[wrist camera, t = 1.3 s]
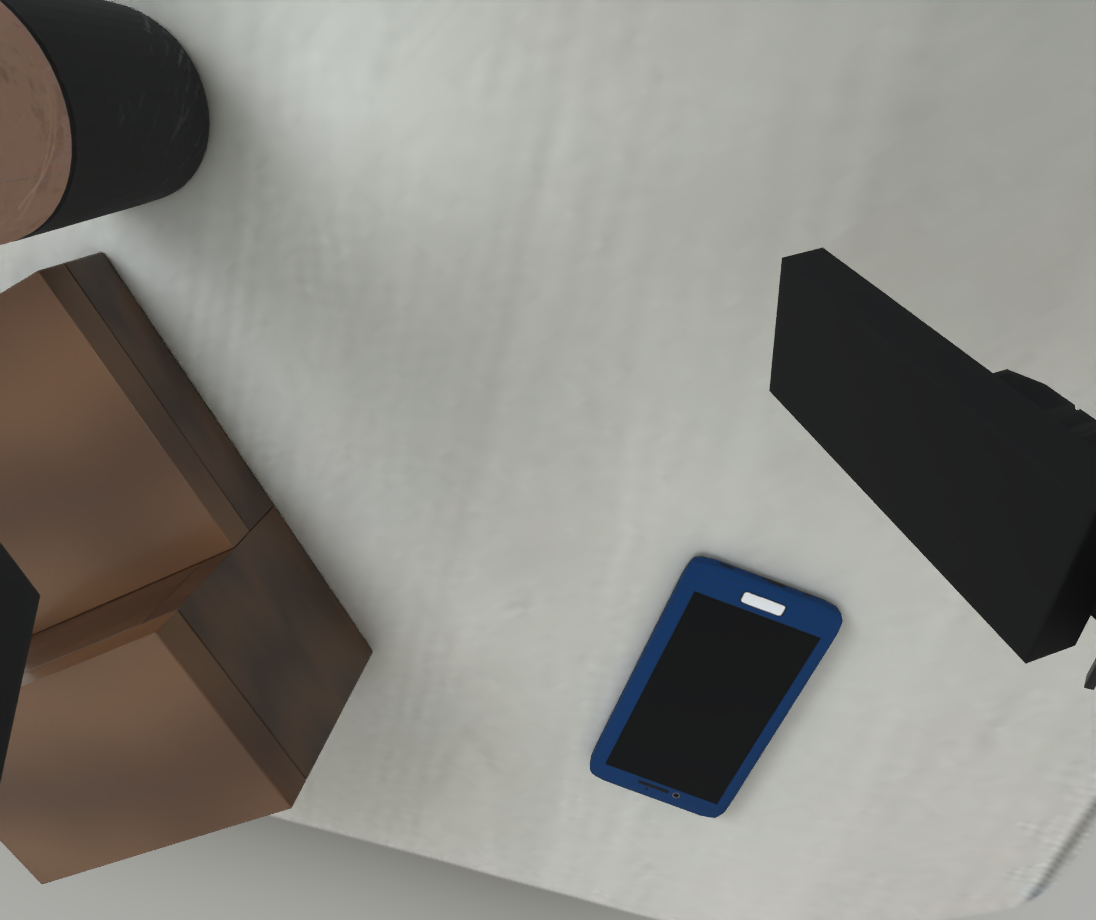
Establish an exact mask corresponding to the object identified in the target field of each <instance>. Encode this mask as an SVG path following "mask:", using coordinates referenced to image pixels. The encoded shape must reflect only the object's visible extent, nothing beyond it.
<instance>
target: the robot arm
mask: <svg viewBox="0 0 1096 920" xmlns="http://www.w3.org/2000/svg"><path fill="white" fill-rule="evenodd" d="M770 392H771V393H772V394H773V395H774V396H775V397H776V398H777V399H778V400H779V401H780V403H781V404H782V405H783V406H784V407H785V408H786V409H787V410H788V411H789V412H790V413H791V414H792V415H793V416H794V417H795V418H796V420H797V421H798V422H799V423H800V424H801V425H802V426H803V427H804V428H805V429H806V430H807V431H808V432H809V433H810V434H811V436H812V437H813V438H814V439H815V440H816V441H817V442H818V443H819V444H820V445H821V446H822V447H823V448H824V449H825V450H826V452H827V453H828V454H829V455H830V456H831V457H832V458H833V459H834V460H835V461H836V462H837V463H838V464H839V465H840V466H841V467H842V469H843V470H844V471H845V472H846V473H847V474H848V475H849V476H850V477H851V478H852V479H853V480H854V481H855V482H856V483H857V485H858V486H859V487H860V488H861V489H862V490H863V491H864V492H865V493H866V494H867V495H868V496H869V497H870V498H871V499H872V500H873V502H874V503H875V504H876V505H877V506H878V507H879V508H880V509H881V510H882V511H883V512H884V513H885V514H886V515H887V516H888V518H889V519H890V520H891V521H892V522H893V523H894V524H895V525H896V526H897V527H898V528H899V529H900V530H901V531H902V532H903V533H904V535H905V536H906V537H907V538H908V539H909V540H910V541H911V542H912V543H913V544H914V545H915V546H916V547H917V548H918V549H919V551H920V552H921V553H922V554H923V555H924V556H925V557H926V558H927V559H928V560H929V561H930V562H931V563H932V564H933V565H934V566H935V568H936V569H937V570H938V571H939V572H940V573H941V574H942V575H943V576H944V577H945V578H946V579H947V580H948V581H949V582H950V584H951V585H952V586H953V587H954V588H955V589H956V590H957V591H958V592H959V593H960V594H961V595H962V596H963V597H964V598H965V599H966V601H967V602H968V603H969V604H970V605H971V606H972V607H973V608H974V609H975V610H976V611H977V612H978V613H979V614H980V615H981V617H982V618H983V619H984V620H985V621H986V622H987V623H988V624H989V625H990V626H991V627H992V628H993V629H994V630H995V631H996V632H997V634H998V635H999V636H1000V637H1001V638H1002V639H1003V640H1004V641H1005V642H1006V643H1007V644H1008V645H1009V646H1010V647H1011V648H1012V650H1013V651H1014V652H1015V653H1016V654H1017V655H1018V656H1019V657H1020V658H1021V659H1022V660H1023V661H1024V662H1025V663H1028V662H1031V661H1034V660H1037V659H1039V658H1042V657H1045V656H1048V655H1050V654H1053V653H1056V652H1058V651H1061V650H1064V649H1067V648H1069V647H1072V646H1075V645H1076V643H1077V641H1078V639H1079V637H1080V635H1081V633H1082V631H1083V629H1084V627H1085V625H1086V623H1087V621H1088V619H1089V617H1090V615H1091V616H1093V617H1094V618H1095V619H1096V420H1095V419H1094V418H1092V417H1091V416H1089V415H1088V414H1087V413H1085V412H1084V411H1082V410H1081V409H1080V410H1076V409H1075V405H1074V404H1072V403H1071V402H1070V401H1068V400H1067V399H1065V398H1064V397H1062V396H1061V395H1060V394H1058V393H1057V392H1055V391H1054V390H1053V389H1051V388H1050V387H1048V386H1047V385H1045V384H1043V383H1041V382H1038V381H1036V380H1033V379H1031V378H1028V377H1025V376H1023V375H1020V374H1018V373H1015V372H1013V371H1010V370H1008V369H1006V370H1003V371H999V372H996V373H992V372H990V371H989V370H988V369H986V368H985V367H984V366H982V365H981V364H980V363H978V362H977V361H976V360H974V359H973V358H971V357H970V356H969V355H967V354H966V353H965V352H963V351H962V350H961V349H959V348H958V347H957V346H955V345H954V344H953V343H951V342H950V341H948V340H947V339H946V338H944V337H943V336H942V335H940V334H939V333H938V332H936V331H935V330H934V329H932V328H931V327H930V326H928V325H927V324H925V323H924V322H923V321H921V320H920V319H919V318H917V317H916V316H915V315H913V314H912V313H911V312H909V311H908V310H906V309H905V308H904V307H902V306H901V305H900V304H898V303H897V302H896V301H894V300H893V299H892V298H890V297H889V296H888V295H886V294H885V293H883V292H882V291H881V290H879V289H878V288H877V287H875V286H874V285H873V284H871V283H870V282H869V281H867V280H866V279H864V278H863V277H862V276H860V275H859V274H858V273H856V272H855V271H854V270H852V269H851V268H850V267H848V266H847V265H846V264H844V263H843V262H841V261H840V260H839V259H837V258H836V257H835V256H833V255H832V254H831V253H829V252H828V251H827V250H825V249H824V248H819V249H815V250H811V251H807V252H803V253H799V254H795V255H791V256H787V257H783V258H782V264H781V275H780V285H779V296H778V306H777V317H776V327H775V338H774V348H773V359H772V370H771V380H770ZM39 599H40V594H39V593H38V591H37V590H36V589H35V587H34V586H33V585H32V583H31V582H30V581H29V580H28V578H27V577H26V576H25V574H24V573H23V572H22V570H21V569H20V568H19V566H18V565H17V564H16V562H15V561H14V560H13V558H12V557H11V556H10V554H9V553H8V552H7V550H6V549H5V548H4V546H3V545H2V544H1V542H0V782H1V778H2V773H3V768H4V764H5V759H6V754H7V749H8V745H9V740H10V735H11V731H12V726H13V721H14V717H15V712H16V707H17V703H18V698H19V693H20V688H21V684H22V679H23V674H24V670H25V665H26V660H27V656H28V651H29V646H30V642H31V637H32V632H33V627H34V623H35V618H36V613H37V609H38V604H39ZM1095 687H1096V659H1095V661H1094V663H1093V664H1092V666H1091V668H1090V670H1089V672H1088V673H1087V676H1086V681H1085V685H1084V688H1088V689H1092V690H1094V688H1095Z"/></svg>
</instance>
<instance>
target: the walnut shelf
mask: <svg viewBox="0 0 1096 920" xmlns="http://www.w3.org/2000/svg"><path fill="white" fill-rule="evenodd" d="M0 542H1V544H2V545H3V546H4V548H5V549H6V550H7V552H8V553H9V554H10V556H11V557H12V558H13V560H14V561H15V562H16V564H17V565H18V566H19V568H20V569H21V570H22V572H23V573H24V574H25V576H26V577H27V578H28V580H29V581H30V582H31V583H32V585H33V586H34V587H35V589H36V590H37V591H38V593H39V594H40V599H39V604H38V609H37V613H36V618H35V623H34V627H33V632H32V637H31V642H30V646H29V651H28V656H27V660H26V665H25V670H24V674H23V679H22V684H21V688H20V693H19V698H18V703H17V707H16V712H15V717H14V721H13V726H12V731H11V735H10V740H9V745H8V749H7V754H6V759H5V764H4V768H3V773H2V778H1V782H0V841H1V842H2V843H3V844H4V845H5V846H6V847H7V848H8V849H9V850H10V851H11V852H12V853H13V855H14V856H15V857H16V858H17V859H18V860H19V861H20V862H21V863H22V864H23V865H24V866H25V867H26V868H27V869H28V870H29V871H30V873H31V874H32V875H33V876H34V877H35V878H36V879H37V880H38V881H39V882H40V883H41V884H45V883H48V882H51V881H54V880H58V879H61V878H64V877H68V876H71V875H74V874H77V873H80V872H84V871H87V870H90V869H94V868H97V867H100V866H104V865H107V864H110V863H113V862H117V861H120V860H123V859H126V858H129V857H133V856H136V855H139V854H143V853H146V852H149V851H152V850H156V849H159V848H162V847H166V846H169V845H172V844H175V843H179V842H182V841H185V840H188V839H192V838H195V837H198V836H201V835H205V834H208V833H211V832H215V831H218V830H221V829H224V828H228V827H231V826H234V825H238V824H241V823H244V822H247V821H250V820H253V819H257V818H260V817H264V816H267V815H270V814H274V813H277V812H280V811H283V810H287V809H290V808H292V806H293V804H294V802H295V800H296V799H297V797H298V795H299V793H300V791H301V789H302V787H303V785H304V783H305V781H306V779H307V777H308V776H309V774H310V772H311V770H312V768H313V766H314V764H315V762H316V760H317V758H318V756H319V754H320V752H321V750H322V749H323V747H324V745H325V743H326V741H327V739H328V737H329V735H330V733H331V731H332V729H333V727H334V725H335V724H336V722H337V720H338V718H339V716H340V714H341V712H342V710H343V708H344V706H345V704H346V702H347V700H348V698H349V697H350V695H351V693H352V691H353V689H354V687H355V685H356V683H357V681H358V679H359V677H360V675H361V673H362V672H363V670H364V668H365V666H366V664H367V662H368V660H369V658H370V656H371V654H372V650H371V649H370V647H369V646H368V644H367V643H366V641H365V640H364V638H363V637H362V635H361V634H360V632H359V631H358V629H357V628H356V626H355V625H354V623H353V622H352V620H351V619H350V618H349V616H348V615H347V613H346V612H345V610H344V609H343V607H342V606H341V604H340V603H339V601H338V600H337V598H336V597H335V595H334V594H333V592H332V591H331V589H330V588H329V586H328V585H327V583H326V582H325V581H324V579H323V578H322V576H321V575H320V573H319V572H318V570H317V569H316V567H315V566H314V564H313V563H312V561H311V560H310V558H309V557H308V555H307V554H306V552H305V551H304V549H303V548H302V546H301V545H300V543H299V542H298V541H297V539H296V538H295V536H294V535H293V533H292V532H291V530H290V529H289V527H288V526H287V524H286V523H285V521H284V520H283V518H282V517H281V515H280V514H279V512H278V511H277V509H276V508H275V507H274V506H273V504H272V502H271V501H270V499H269V498H268V496H267V495H266V493H265V492H264V490H263V489H262V487H261V486H260V484H259V483H258V481H257V480H256V478H255V477H254V475H253V474H252V472H251V471H250V470H249V468H248V467H247V465H246V464H245V462H244V461H243V459H242V458H241V456H240V455H239V453H238V452H237V450H236V449H235V447H234V446H233V444H232V443H231V441H230V440H229V438H228V437H227V435H226V434H225V433H224V431H223V430H222V428H221V427H220V425H219V424H218V422H217V421H216V419H215V418H214V416H213V415H212V413H211V412H210V410H209V409H208V407H207V406H206V404H205V403H204V401H203V400H202V398H201V397H200V396H199V394H198V393H197V391H196V390H195V388H194V387H193V385H192V384H191V382H190V381H189V379H188V378H187V376H186V375H185V373H184V372H183V370H182V369H181V367H180V366H179V364H178V363H177V361H176V360H175V359H174V357H173V356H172V354H171V353H170V351H169V350H168V348H167V347H166V345H165V344H164V342H163V341H162V339H161V338H160V336H159V335H158V333H157V332H156V330H155V329H154V327H153V326H152V324H151V323H150V321H149V320H148V319H147V317H146V316H145V314H144V313H143V311H142V310H141V308H140V307H139V305H138V304H137V302H136V301H135V299H134V298H133V296H132V295H131V293H130V292H129V290H128V289H127V287H126V286H125V284H124V283H123V282H122V280H121V279H120V277H119V276H118V274H117V273H116V271H115V270H114V268H113V267H112V265H111V264H110V262H109V261H108V259H107V258H106V256H105V255H104V253H102V252H100V253H97V254H93V255H90V256H87V257H83V258H80V259H76V260H73V261H70V262H66V263H63V264H59V265H56V266H52V267H49V268H46V269H42V270H39V271H37V272H35V273H33V274H32V275H30V276H28V277H27V278H25V279H23V280H22V281H20V282H19V283H17V284H15V285H14V286H12V287H10V288H9V289H7V290H6V291H4V292H2V293H1V294H0Z"/></svg>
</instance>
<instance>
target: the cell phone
mask: <svg viewBox="0 0 1096 920" xmlns="http://www.w3.org/2000/svg"><path fill="white" fill-rule="evenodd" d="M841 624H842V616H841V613H840V611H839V610H838V608H837V607H836V606H835V605H833V604H831V603H829V602H827V601H825V600H823V599H820V598H818V597H815V596H812V595H810V594H807V593H804V592H801V591H799V590H796V589H793V588H791V587H788V586H785V585H783V584H780V583H777V582H774V581H772V580H769V579H766V578H764V577H761V576H758V575H756V574H753V573H750V572H748V571H745V570H742V569H739V568H737V567H734V566H731V565H729V564H726V563H723V562H721V561H718V560H715V559H710V558H706V557H702V556H701V557H694V558H693V559H692V560H691V561H690V563H689V564H688V565H687V567H686V568H685V570H684V571H683V573H682V575H681V577H680V579H679V581H678V583H677V585H676V587H675V589H674V591H673V593H672V595H671V597H670V599H669V601H668V603H667V605H666V607H665V609H664V611H663V613H662V615H661V617H660V619H659V621H658V623H657V625H656V627H655V629H654V631H653V633H652V635H651V637H650V639H649V641H648V643H647V645H646V647H645V649H644V651H643V653H642V655H641V657H640V658H639V660H638V662H637V664H636V666H635V668H634V670H633V672H632V674H631V676H630V678H629V680H628V682H627V684H626V686H625V688H624V690H623V692H622V694H621V696H620V698H619V700H618V702H617V704H616V706H615V708H614V710H613V712H612V714H611V716H610V718H609V720H608V722H607V724H606V726H605V728H604V730H603V732H602V734H601V736H600V738H599V740H598V742H597V744H596V746H595V749H594V751H593V753H592V755H591V760H590V770H591V772H592V774H594V775H595V776H597V777H599V778H601V779H602V780H605V781H607V782H610V783H613V784H616V785H618V786H621V787H624V788H627V789H629V790H632V791H635V792H638V793H640V794H643V795H646V796H649V797H651V798H654V799H657V800H659V801H662V802H665V803H668V804H670V805H673V806H676V807H679V808H681V809H684V810H687V811H690V812H692V813H695V814H698V815H701V816H706V817H713V818H716V817H718V816H719V815H721V814H723V813H724V812H725V810H726V809H727V808H728V806H729V805H730V803H731V802H732V800H733V799H734V797H735V796H736V794H737V793H738V791H739V789H740V788H741V786H742V785H743V783H744V781H745V780H746V778H747V777H748V775H749V773H750V772H751V770H752V769H753V767H754V765H755V764H756V762H757V761H758V759H759V758H760V756H761V754H762V753H763V751H764V750H765V748H766V746H767V745H768V743H769V742H770V740H771V738H772V737H773V735H774V734H775V732H776V730H777V729H778V727H779V726H780V724H781V723H782V721H783V719H784V718H785V716H786V715H787V713H788V711H789V710H790V708H791V707H792V705H793V703H794V702H795V700H796V699H797V697H798V696H799V694H800V692H801V691H802V689H803V688H804V686H805V684H806V683H807V681H808V680H809V678H810V676H811V675H812V673H813V672H814V670H815V668H816V667H817V665H818V664H819V662H820V661H821V659H822V657H823V656H824V654H825V653H826V651H827V649H828V648H829V646H830V645H831V643H832V641H833V640H834V638H835V637H836V635H837V633H838V631H839V629H840V627H841Z"/></svg>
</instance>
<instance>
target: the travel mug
mask: <svg viewBox="0 0 1096 920" xmlns="http://www.w3.org/2000/svg"><path fill="white" fill-rule="evenodd" d="M208 133H209V113H208V106H207V100H206V96H205V92H204V89H203V85H202V83H201V80H200V78H199V75H198V73H197V71H196V69H195V67H194V65H193V63H192V61H191V60H190V58H189V57H188V55H187V54H186V52H185V51H184V49H183V48H182V47H181V46H180V44H179V43H178V42H177V41H176V40H175V38H174V37H173V36H172V35H171V34H170V33H168V32H167V31H166V30H165V29H164V28H163V27H162V26H160V25H159V24H158V23H156V22H155V21H154V20H153V19H151V18H149V17H148V16H146V15H144V14H143V13H141V12H139V11H136V10H134V9H132V8H130V7H127V6H123V5H120V4H116V3H113V2H109V1H105V0H0V245H1V244H6V243H9V242H12V241H17V240H20V239H24V238H27V237H31V236H34V235H38V234H41V233H45V232H48V231H52V230H55V229H59V228H62V227H66V226H69V225H73V224H76V223H80V222H83V221H86V220H90V219H93V218H97V217H100V216H104V215H107V214H111V213H114V212H118V211H121V210H125V209H128V208H132V207H135V206H138V205H142V204H145V203H148V202H151V201H154V200H157V199H160V198H163V197H165V196H167V195H169V194H171V193H173V192H175V191H177V190H178V189H179V188H181V187H182V186H183V185H184V184H185V183H186V182H187V181H188V180H189V179H190V178H191V177H192V176H193V174H194V173H195V171H196V170H197V169H198V167H199V165H200V163H201V161H202V159H203V156H204V153H205V150H206V146H207V141H208Z"/></svg>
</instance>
